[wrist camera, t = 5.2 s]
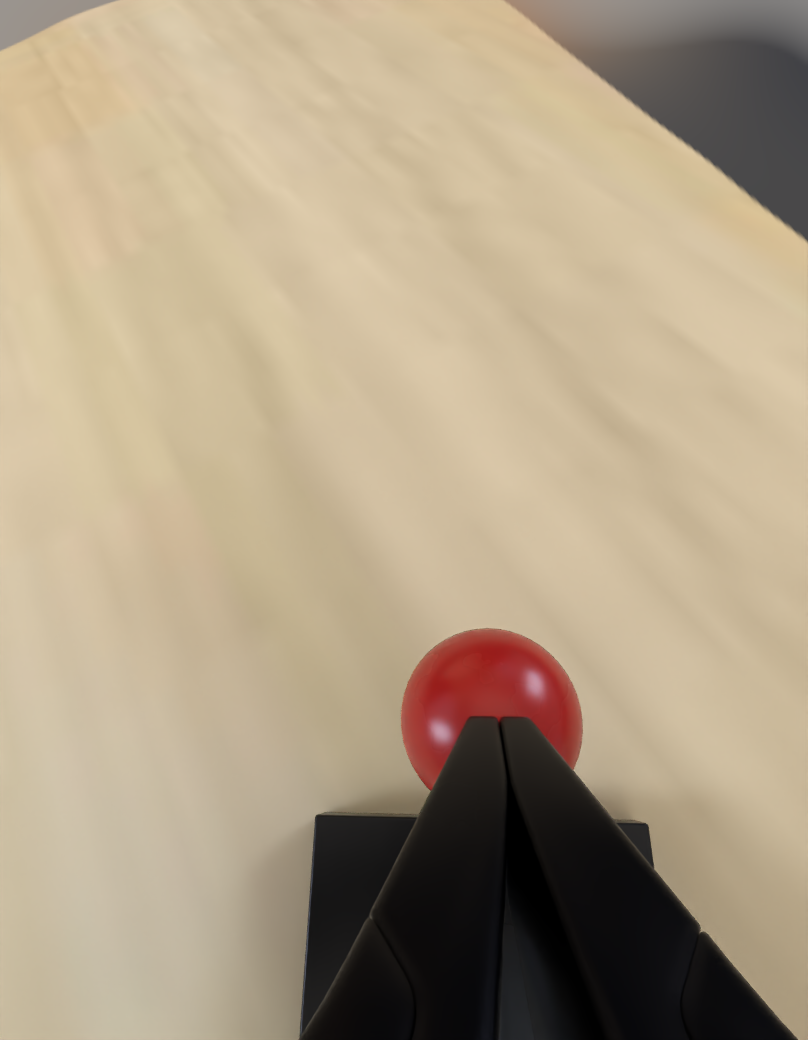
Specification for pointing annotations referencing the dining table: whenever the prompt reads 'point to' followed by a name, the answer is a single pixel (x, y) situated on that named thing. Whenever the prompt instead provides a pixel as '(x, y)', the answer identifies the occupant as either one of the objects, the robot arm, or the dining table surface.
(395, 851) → the switch bracket
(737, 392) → the dining table surface
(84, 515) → the dining table surface
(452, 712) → the switch lever
